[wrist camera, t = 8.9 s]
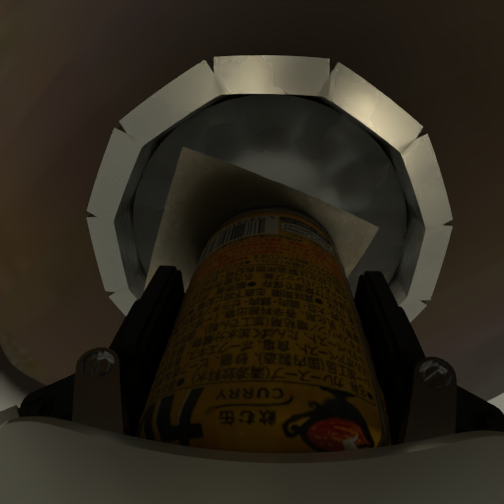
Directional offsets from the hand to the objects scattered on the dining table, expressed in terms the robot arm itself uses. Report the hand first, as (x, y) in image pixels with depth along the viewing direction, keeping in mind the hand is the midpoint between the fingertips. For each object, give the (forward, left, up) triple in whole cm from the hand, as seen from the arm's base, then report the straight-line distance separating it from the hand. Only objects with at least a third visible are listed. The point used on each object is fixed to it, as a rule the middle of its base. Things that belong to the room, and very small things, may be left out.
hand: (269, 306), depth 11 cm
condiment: (0, -1, -3) cm, 3 cm away
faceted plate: (0, 0, -5) cm, 5 cm away
